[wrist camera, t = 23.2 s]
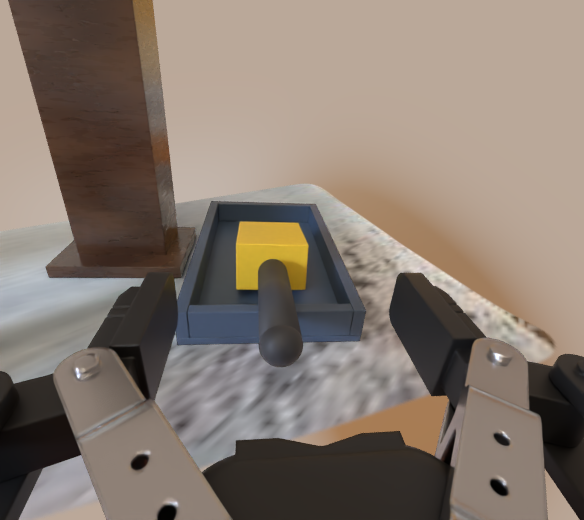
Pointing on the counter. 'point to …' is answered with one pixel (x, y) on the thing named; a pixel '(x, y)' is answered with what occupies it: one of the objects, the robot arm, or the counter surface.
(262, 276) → the sponge brush
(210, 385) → the counter surface
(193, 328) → the tray
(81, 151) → the wooden pedestal stand
